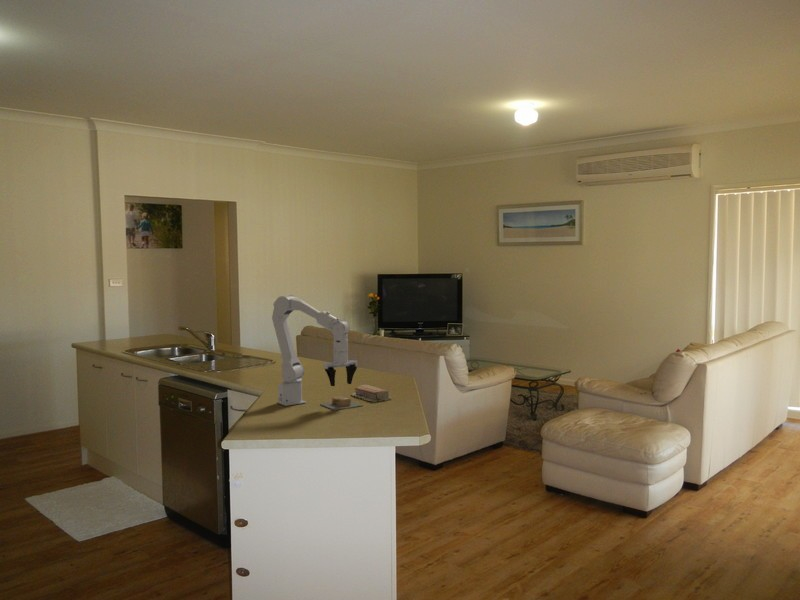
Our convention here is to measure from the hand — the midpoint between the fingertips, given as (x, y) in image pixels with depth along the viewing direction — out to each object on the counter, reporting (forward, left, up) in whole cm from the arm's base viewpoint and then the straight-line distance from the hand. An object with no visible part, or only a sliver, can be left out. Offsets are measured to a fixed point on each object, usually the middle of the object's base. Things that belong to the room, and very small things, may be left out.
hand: (341, 384), depth 261 cm
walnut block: (0, 0, -8) cm, 8 cm away
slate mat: (0, 0, -8) cm, 8 cm away
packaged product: (+18, +6, -9) cm, 21 cm away
